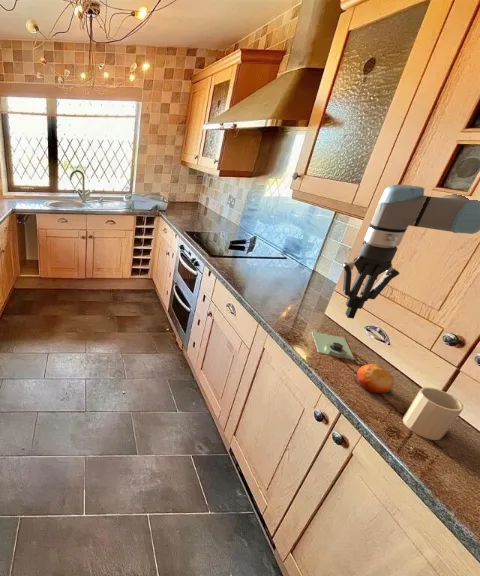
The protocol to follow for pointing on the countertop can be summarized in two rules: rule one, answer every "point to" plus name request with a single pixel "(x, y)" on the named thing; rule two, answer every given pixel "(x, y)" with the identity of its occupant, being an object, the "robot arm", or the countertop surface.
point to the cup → (432, 413)
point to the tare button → (337, 347)
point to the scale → (326, 342)
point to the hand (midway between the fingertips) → (349, 316)
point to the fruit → (375, 378)
